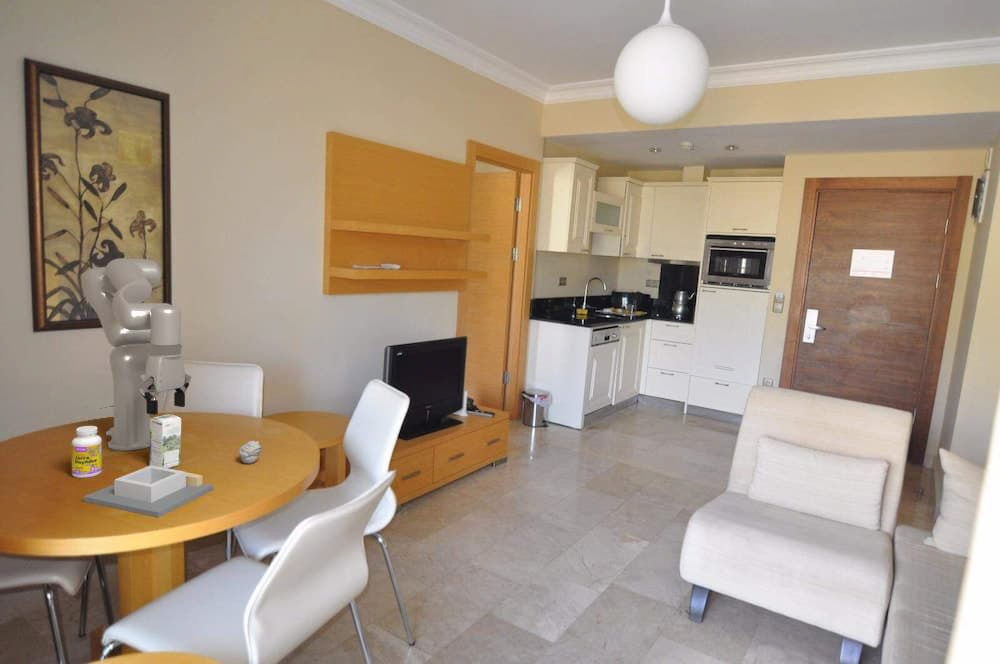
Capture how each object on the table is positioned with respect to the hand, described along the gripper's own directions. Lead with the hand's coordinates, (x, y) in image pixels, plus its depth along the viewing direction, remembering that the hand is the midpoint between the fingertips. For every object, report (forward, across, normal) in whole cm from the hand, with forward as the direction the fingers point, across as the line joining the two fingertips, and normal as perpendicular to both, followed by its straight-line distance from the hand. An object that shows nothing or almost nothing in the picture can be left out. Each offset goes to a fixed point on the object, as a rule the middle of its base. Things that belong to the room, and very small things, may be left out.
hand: (166, 410), depth 166 cm
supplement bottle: (+17, +13, -14) cm, 25 cm away
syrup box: (+17, 0, -1) cm, 17 cm away
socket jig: (+17, +17, +11) cm, 26 cm away
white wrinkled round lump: (+17, -12, +18) cm, 28 cm away
